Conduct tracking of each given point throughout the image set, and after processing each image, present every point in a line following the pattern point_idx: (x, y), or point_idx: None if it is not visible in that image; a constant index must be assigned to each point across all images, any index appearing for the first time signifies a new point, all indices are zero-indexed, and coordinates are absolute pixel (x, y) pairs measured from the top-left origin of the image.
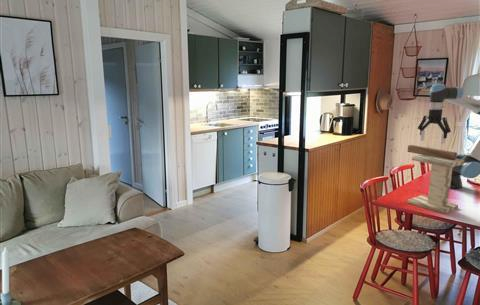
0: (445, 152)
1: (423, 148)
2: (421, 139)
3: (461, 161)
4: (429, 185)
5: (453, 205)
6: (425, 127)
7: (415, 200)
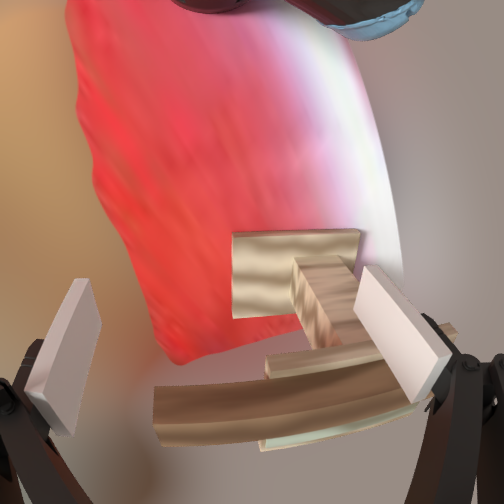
0: (402, 405)
1: (276, 436)
2: (96, 334)
3: None
4: (308, 337)
5: (351, 249)
6: (63, 472)
7: (252, 306)
